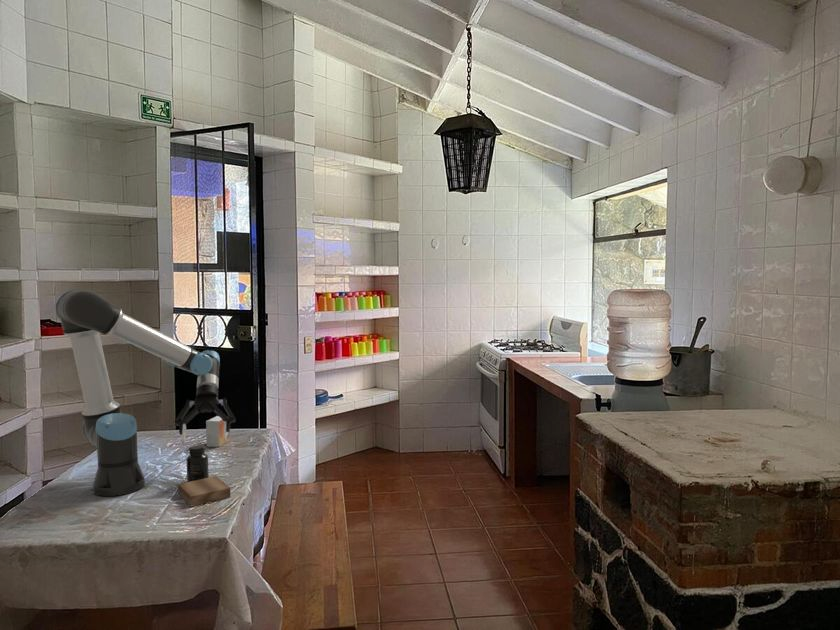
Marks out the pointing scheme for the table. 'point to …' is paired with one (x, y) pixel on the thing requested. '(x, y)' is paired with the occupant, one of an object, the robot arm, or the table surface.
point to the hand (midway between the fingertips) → (204, 441)
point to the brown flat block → (204, 490)
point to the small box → (215, 432)
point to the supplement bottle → (197, 464)
